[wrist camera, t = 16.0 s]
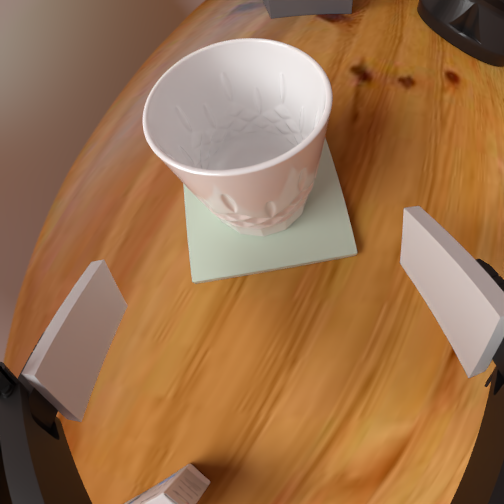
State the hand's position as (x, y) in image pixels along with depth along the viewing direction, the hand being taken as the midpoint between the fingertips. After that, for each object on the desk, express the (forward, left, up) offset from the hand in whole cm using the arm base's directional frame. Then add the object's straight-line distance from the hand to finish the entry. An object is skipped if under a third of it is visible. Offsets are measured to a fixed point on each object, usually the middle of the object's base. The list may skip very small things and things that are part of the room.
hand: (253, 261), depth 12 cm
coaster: (-1, -6, -8) cm, 10 cm away
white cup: (-1, -6, -7) cm, 10 cm away
